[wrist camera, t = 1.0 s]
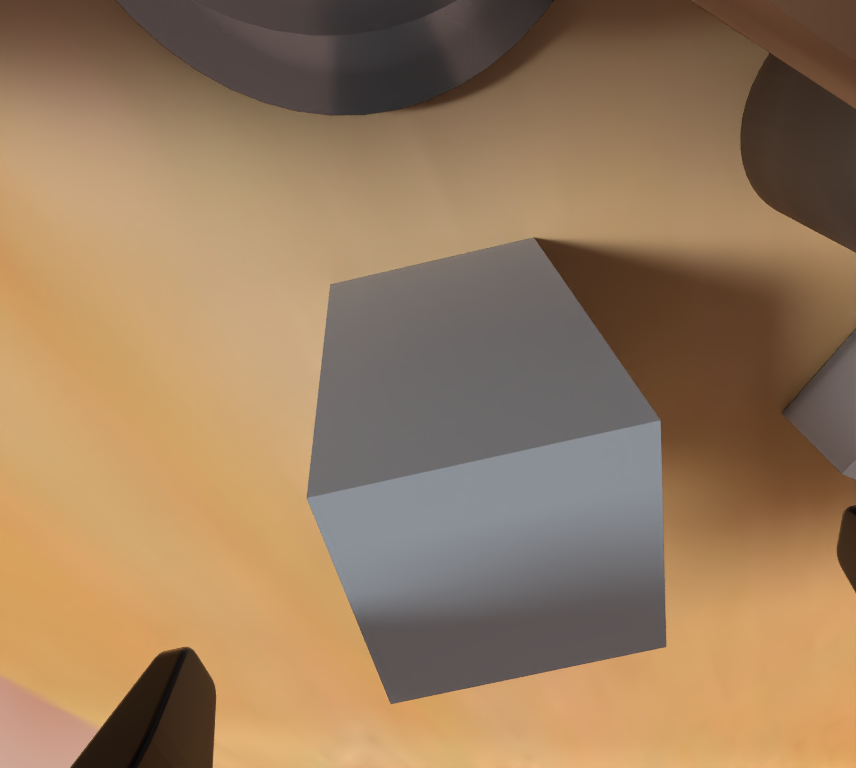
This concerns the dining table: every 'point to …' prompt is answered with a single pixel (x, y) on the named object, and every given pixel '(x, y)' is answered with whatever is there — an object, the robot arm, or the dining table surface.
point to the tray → (830, 409)
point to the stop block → (485, 475)
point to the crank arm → (801, 109)
